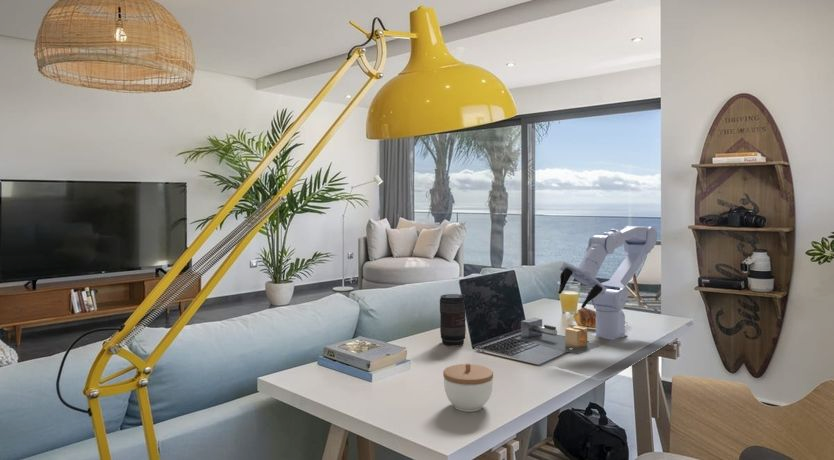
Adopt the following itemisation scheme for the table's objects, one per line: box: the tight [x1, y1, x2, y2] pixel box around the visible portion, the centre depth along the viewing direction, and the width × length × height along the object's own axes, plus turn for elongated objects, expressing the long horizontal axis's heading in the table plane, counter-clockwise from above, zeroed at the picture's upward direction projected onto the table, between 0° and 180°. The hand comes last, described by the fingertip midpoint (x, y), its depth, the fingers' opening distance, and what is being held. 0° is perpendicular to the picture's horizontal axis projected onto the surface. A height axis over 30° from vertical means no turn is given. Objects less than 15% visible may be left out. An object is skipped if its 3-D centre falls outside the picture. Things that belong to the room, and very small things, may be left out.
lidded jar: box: [443, 362, 494, 413], centre depth 117 cm, size 11×11×9 cm
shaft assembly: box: [520, 317, 558, 339], centre depth 170 cm, size 7×10×5 cm, turn 40°
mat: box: [513, 333, 602, 355], centre depth 166 cm, size 13×23×1 cm, turn 40°
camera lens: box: [439, 293, 467, 347], centre depth 168 cm, size 8×8×15 cm
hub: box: [564, 325, 588, 349], centre depth 160 cm, size 5×4×5 cm
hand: (571, 299), depth 159 cm, fingers open, 7 cm apart
